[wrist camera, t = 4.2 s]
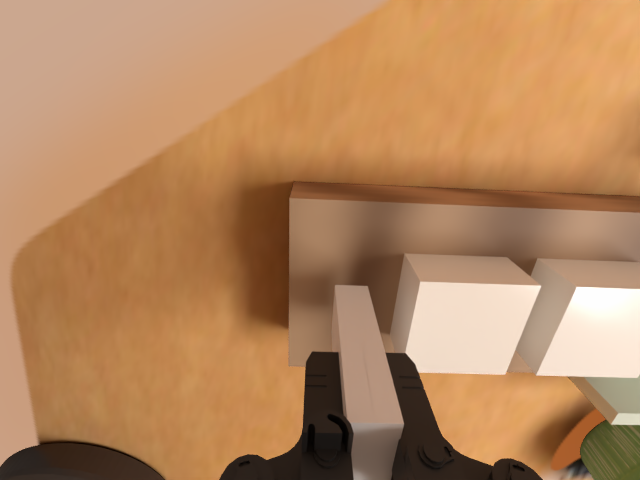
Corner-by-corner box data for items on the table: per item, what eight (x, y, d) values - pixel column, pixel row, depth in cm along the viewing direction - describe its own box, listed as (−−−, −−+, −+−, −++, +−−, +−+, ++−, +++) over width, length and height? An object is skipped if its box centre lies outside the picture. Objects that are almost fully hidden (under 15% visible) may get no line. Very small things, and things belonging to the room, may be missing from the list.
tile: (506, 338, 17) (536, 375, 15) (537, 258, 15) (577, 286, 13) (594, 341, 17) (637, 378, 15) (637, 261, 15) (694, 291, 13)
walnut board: (292, 330, 20) (288, 366, 18) (294, 181, 16) (289, 198, 14) (586, 339, 21) (626, 374, 18) (660, 197, 17) (726, 216, 14)
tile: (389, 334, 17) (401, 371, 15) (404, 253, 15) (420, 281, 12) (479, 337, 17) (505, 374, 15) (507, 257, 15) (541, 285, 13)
